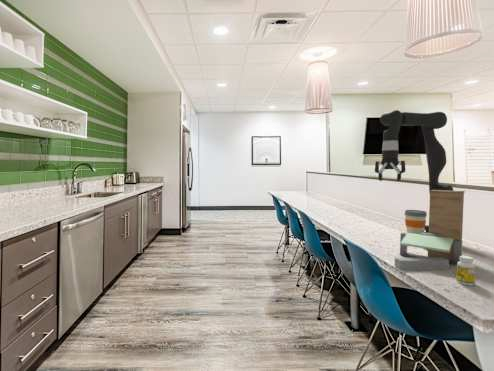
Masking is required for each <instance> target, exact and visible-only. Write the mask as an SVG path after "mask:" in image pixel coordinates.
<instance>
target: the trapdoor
mask: <svg viewBox="0 0 494 371" xmlns="http://www.w3.org/2000/svg"><path fill="white" fill-rule="evenodd" d="M406 233H407V232H406ZM452 243H453V239H451V238H444V237H439V234H433V233H425V232H421V234H413V233H407V234H406V236H405V237H404V238H403V240H402V241H401V245H405V246H407V247H412V248H419V249H425V250H428V249H430V250H436V251H442V252H449V251H450V248H451V246H452Z"/></svg>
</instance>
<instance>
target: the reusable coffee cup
mask: <svg viewBox="0 0 494 371" xmlns="http://www.w3.org/2000/svg"><path fill="white" fill-rule="evenodd" d="M404 215H405V216H404V217H405V218H404V223H405V228H406V233H413V234H421V232H422V231H424V230H425V229H424V226H425V225H427V224H426V223H427V215H428V214H427V211H426V210H420V209H419V210H417V209H405V211H404Z"/></svg>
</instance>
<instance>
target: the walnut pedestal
mask: <svg viewBox="0 0 494 371" xmlns="http://www.w3.org/2000/svg"><path fill="white" fill-rule="evenodd" d="M428 192H430V194H429V207H428V208H429V210H428V211H429V212H428V225H429V233H433V234H439V237H444V238H451V239H453V243H452V246H451V248H450V251H449V252H442V251H436V250H430V249H427V257H442V258H445V259H447V260H450V261H454V244H455V240H460V241H463V228H464V227H463V222H464V198H465V197H464V196H465V190H453V191H449V190H430V191H429V190H428Z"/></svg>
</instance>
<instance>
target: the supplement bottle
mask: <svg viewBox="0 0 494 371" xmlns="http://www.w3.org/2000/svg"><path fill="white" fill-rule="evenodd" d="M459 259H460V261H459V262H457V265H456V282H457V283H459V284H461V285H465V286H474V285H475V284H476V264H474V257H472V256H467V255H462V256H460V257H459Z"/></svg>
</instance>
